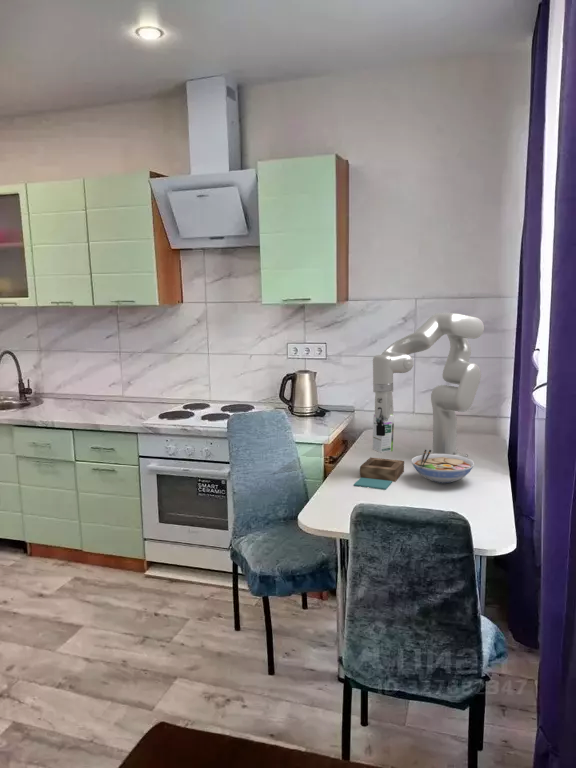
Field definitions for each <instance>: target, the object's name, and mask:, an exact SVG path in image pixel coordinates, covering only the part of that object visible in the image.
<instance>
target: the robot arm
mask: <svg viewBox="0 0 576 768" xmlns="http://www.w3.org/2000/svg"><path fill="white" fill-rule="evenodd" d="M484 330H485V326H484V322H483V321H482V320H481V318H478V317H476V316H470V315H467V314H461V313H456V312H437V313H435V314H433V315H431V316H430V317H429V318H428V319H427V320H426V321H425V322H424V323H422V325H421V326H420V327H418V329H416V330H415V331H414V332H413V333H410V334H409V335H405V336H404V337H402V338H401V339H398V340H396V341H395V342H393V343H391V344H390V345H389V346H388V347H387V348H386V349H385V350H383V352H382V353H381V354H376V355H375V356H373V357H372V386H373V387H372V388H373V389H372V391H373V393H375V394H374V413H375V417H376V435H377V436H385V425H384V421H385V418H386V419H388V418H389V417H390V415H391V414H393V415H394V398H393V396H394V395H393V392H394V374H407V373H409V372H410V371H411V370H412V369H413V367H414V359H413V358H412V356H411V354H415V353H420V352H421V353H422V352H424V351H427V350H429V349H430V348H431V347H432V346H433V345H434V344H435V343H436V342H438V341H439V340H440V338H441V337H443V336H444V335H447V339H448V340H449V346H450V347H449V352H448V354H447V359H446V361H445V364H444V367H443V371H442V374H441V375H442V379H443V381H445V382H446V383H448V384H453V385H458V387H457V386H452V385H445V384H444V385H443V384H441V385H437V386H436V387H434V388H433V389H432V390H431V393H430V402H431V407H432V449H431V452H432V453H431V454H451V455H458V456H462V457H466V458H468V454H466V453H460V452H459V450H458V449H457V435H458V434H457V432H458V429H457V428H458V427H457V426H458V418H457V414H456V412H459V413H463V412H467V411H469V409H471V407H472V405H473V403H474V400H475V397H476V395H477V391H478V388H479V385H480V382H481V378H482V374H481V373H482V372H481V369H480V367H479V365H478V364H476V363H475V362H470V358H471V354H472V348H471V344H470V342H469V339H471V340H474V339H478V338H480V337H482V335H483V333H484ZM380 416H383V417H380ZM381 419H383V420H381Z"/></svg>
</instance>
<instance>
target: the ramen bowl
mask: <svg viewBox="0 0 576 768" xmlns="http://www.w3.org/2000/svg"><path fill="white" fill-rule="evenodd" d="M431 452H432V449H429V451H428V452H427V449H424V451H423V454H421V455H416V456H414V457H413V458H411V464H412V465H413V467H414V470H416V472H417V473H418V474H419V475H420V476H421V477H424V478H425V479H427V480H430V481H432V482H434V483H436V484H437V483H438V484H450V483H453V482H456V481H459V480H462V479H463V478H465V477H466V476H467V475H468V474H469V473H470V472H471V471H472V470H473V468H474V467H475V463H474V460H473V459H470V458H468V457H467V458H466V457H462V456H458V455H451V454H432V453H431Z"/></svg>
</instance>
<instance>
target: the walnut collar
mask: <svg viewBox="0 0 576 768" xmlns="http://www.w3.org/2000/svg"><path fill="white" fill-rule="evenodd" d="M403 473H405V460H403V459H401V460H400V459H393V458H392V459H391V458H390V459H389V458H380V457H371V456H370V457H369V458H367V460H366V461H364V462H363V463H362V464H361V465H360V466H359V479H360V478H361V477H362V478H371V479H380V480H388V481H392V483H396V482H397V480H398V479H399V478H400V477H401V476H402V475H403Z"/></svg>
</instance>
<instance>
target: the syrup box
mask: <svg viewBox="0 0 576 768" xmlns="http://www.w3.org/2000/svg"><path fill="white" fill-rule="evenodd" d="M380 417H383V416H380ZM381 420H383V419H381ZM372 421H373V423H372V426H373V427H372V443H371V444H372V446H371V447H372V448H371V449H372V450H373V451H375V452H378V453H380V454H383V453H389V452H391V453H392V452H393V451H394V449H393V448H394V432H395V431H394V429H395V415H394V413H393V414H391V415H390V417H389V418H388V419H386V418H385V421H384V425H385V436H377V435H376V417H375V412H374V413H373V420H372Z"/></svg>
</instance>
